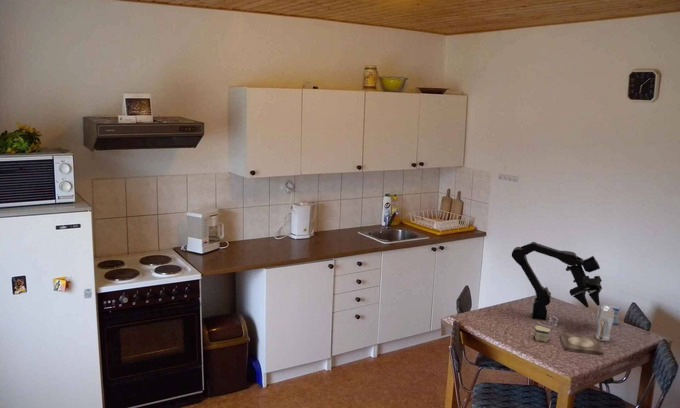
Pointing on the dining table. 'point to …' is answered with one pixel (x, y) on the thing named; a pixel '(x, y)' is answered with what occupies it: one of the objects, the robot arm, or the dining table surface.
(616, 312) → the medicine box
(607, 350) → the dining table surface
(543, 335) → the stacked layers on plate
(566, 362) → the dining table surface
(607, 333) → the beer glass
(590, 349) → the walnut board
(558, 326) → the dining table surface
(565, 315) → the dining table surface
